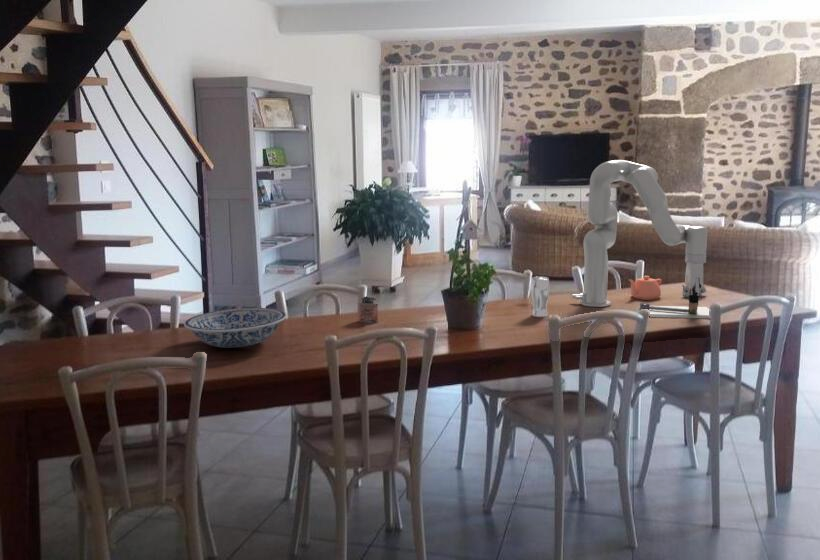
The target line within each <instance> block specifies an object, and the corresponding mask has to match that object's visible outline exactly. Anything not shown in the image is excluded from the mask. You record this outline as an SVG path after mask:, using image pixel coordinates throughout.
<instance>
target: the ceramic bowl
mask: <svg viewBox="0 0 820 560" xmlns="http://www.w3.org/2000/svg"><path fill="white" fill-rule="evenodd" d="M287 316H288V315H287V313H286V312H285V311H284V310H280V309H276V308H268V307H243V308H241V307H239V308H230V309H222V310H216V311H210V312H206V313H201V314H198V315H195V316H193V317H190V318H188V319H187V320H185V321H184V323H183V327H184V328H186V329H187V330H190V331H192V333H193V335H195V336H196V338H197V339H198V340H200V341H201V342H202V343H204V344H206V345H209V346H212V347H216V348H222V349H223V348H227V349H229V348H230V349H231V348H243V347H248V346H249V347H250V346H253V345H257V344H259V343H262V342H264V341H266V340H267V339H268V338H270V337H271V336H272V335H273V334H275V332H276V331H277V329H278V328H279V325H280V324H281V322H283V321H285V320H286V319H287Z"/></svg>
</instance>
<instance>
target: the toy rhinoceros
mask: <svg viewBox="0 0 820 560" xmlns="http://www.w3.org/2000/svg"><path fill="white" fill-rule="evenodd" d="M706 292H707V288H706V287H705V286H704V282H703V286H702V288H701V289H700V288H699V297H701V296H702V294H705V293H706ZM681 293H682V296H683V298H685V299H686V298H689V295H691V294H689V288H688V287H687V286H686V285H685V284H682V292H681Z"/></svg>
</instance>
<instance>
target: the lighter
mask: <svg viewBox="0 0 820 560" xmlns="http://www.w3.org/2000/svg"><path fill="white" fill-rule="evenodd" d="M374 301H375V302H374ZM376 301H377V297H376V296H370V295H367V296H361V301H359V302H358V305H359V307H358V308H359V319H358V321H359V322H360V323H366V322H367V323H368V324H379V309H378V307H379V303H378V302H376Z"/></svg>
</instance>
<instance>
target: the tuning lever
mask: <svg viewBox="0 0 820 560" xmlns="http://www.w3.org/2000/svg"><path fill="white" fill-rule="evenodd" d="M639 306H640V309H648V310H649V309H652V310H663V311H675V312H687V313H689V314H697V308H698V307H699V302H698V303H696V302H689V301H688V307H689V309H679V308H667V307H655V306H656V305H650V303H648V302H641V303H640V304H639ZM640 309H639V310H640Z"/></svg>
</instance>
